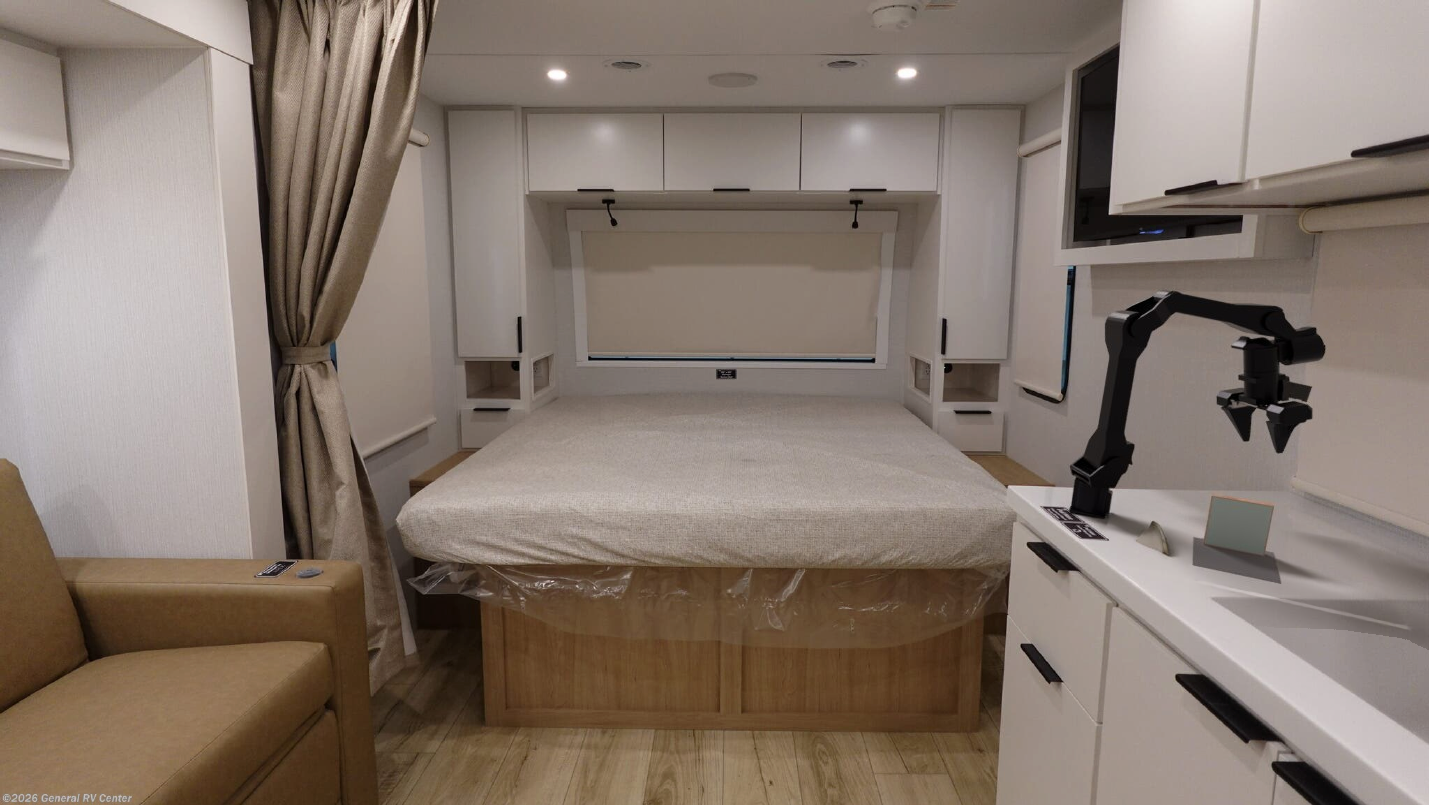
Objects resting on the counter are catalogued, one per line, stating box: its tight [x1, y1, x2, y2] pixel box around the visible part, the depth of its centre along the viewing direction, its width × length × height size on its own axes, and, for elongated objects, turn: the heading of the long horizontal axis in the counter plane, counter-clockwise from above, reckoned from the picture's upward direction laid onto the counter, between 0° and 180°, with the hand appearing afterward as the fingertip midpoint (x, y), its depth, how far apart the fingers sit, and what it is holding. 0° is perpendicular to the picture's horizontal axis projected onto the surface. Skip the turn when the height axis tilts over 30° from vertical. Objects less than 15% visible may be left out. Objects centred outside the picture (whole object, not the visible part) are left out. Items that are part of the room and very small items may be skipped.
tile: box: [1203, 493, 1275, 556], centre depth 137 cm, size 9×2×9 cm, turn 59°
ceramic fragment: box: [1134, 520, 1171, 557], centre depth 140 cm, size 14×5×4 cm, turn 161°
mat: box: [1192, 536, 1282, 585], centre depth 133 cm, size 12×16×1 cm
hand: (1262, 447), depth 154 cm, fingers open, 9 cm apart
